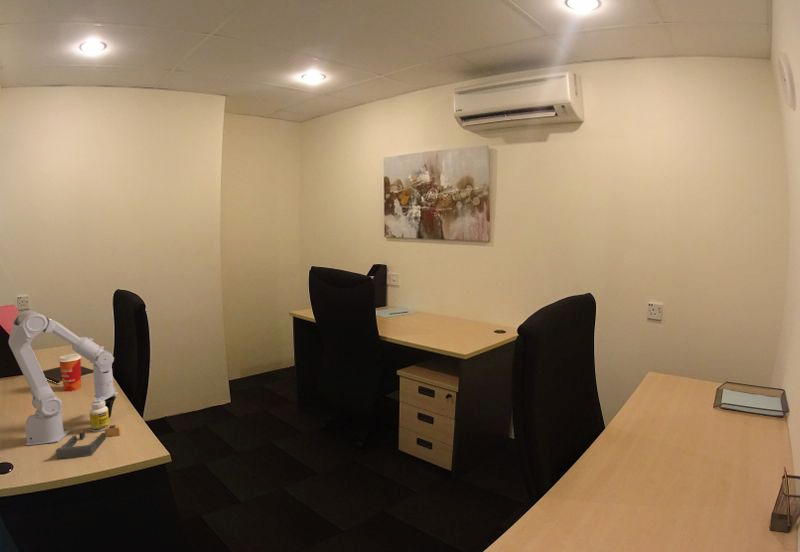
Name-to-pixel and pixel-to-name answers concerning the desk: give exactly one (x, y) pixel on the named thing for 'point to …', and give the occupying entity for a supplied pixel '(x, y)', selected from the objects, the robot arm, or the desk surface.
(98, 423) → the supplement bottle
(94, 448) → the rail clip
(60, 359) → the coffee cup
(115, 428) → the block
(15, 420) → the desk surface
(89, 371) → the hardcover book
